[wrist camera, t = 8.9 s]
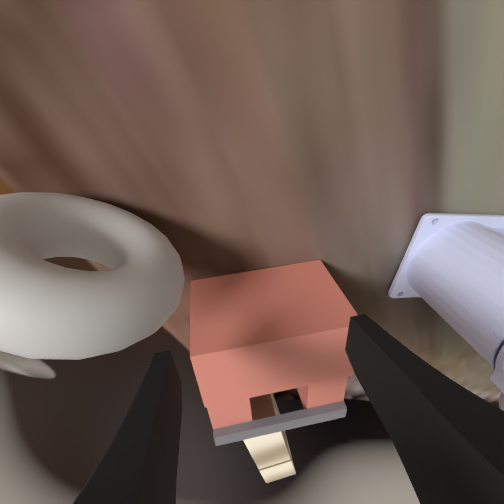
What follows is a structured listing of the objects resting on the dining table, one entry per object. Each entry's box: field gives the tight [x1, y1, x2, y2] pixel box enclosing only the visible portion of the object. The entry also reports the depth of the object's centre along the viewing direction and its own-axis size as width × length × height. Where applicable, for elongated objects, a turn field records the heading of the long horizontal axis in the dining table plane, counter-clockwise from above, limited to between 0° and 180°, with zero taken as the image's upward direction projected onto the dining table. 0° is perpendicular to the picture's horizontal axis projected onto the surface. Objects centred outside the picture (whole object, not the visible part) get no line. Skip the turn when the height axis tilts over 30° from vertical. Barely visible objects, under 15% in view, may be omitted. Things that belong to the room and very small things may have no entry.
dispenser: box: [190, 260, 358, 446], centre depth 22 cm, size 10×10×7 cm
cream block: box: [244, 393, 296, 483], centre depth 28 cm, size 12×3×6 cm, turn 13°
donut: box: [0, 192, 185, 359], centre depth 13 cm, size 10×3×10 cm, turn 64°
